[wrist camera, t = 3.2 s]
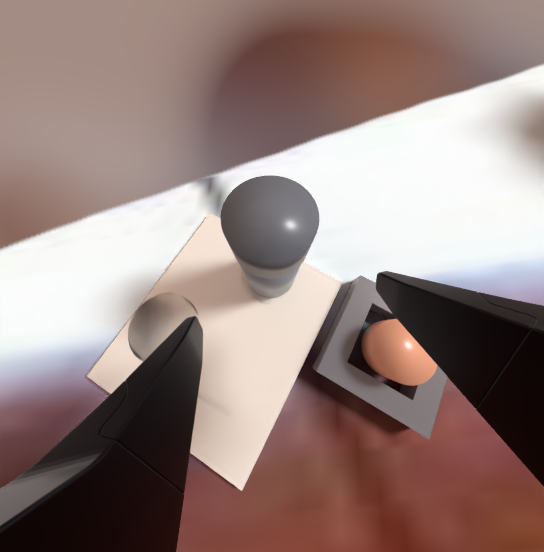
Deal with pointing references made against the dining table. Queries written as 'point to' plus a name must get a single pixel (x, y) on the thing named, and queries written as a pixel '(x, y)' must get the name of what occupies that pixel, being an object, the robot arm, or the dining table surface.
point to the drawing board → (226, 345)
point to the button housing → (333, 365)
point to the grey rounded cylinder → (270, 231)
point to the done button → (396, 353)
